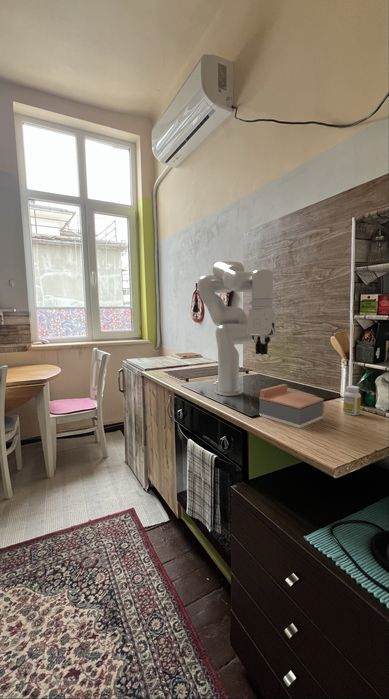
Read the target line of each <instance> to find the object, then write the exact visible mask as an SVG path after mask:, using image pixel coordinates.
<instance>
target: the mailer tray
mask: <svg viewBox="0 0 389 699" xmlns="http://www.w3.org/2000/svg"><path fill="white" fill-rule="evenodd" d="M323 403H324V400H323V401H320V402H318V403H315V404H312V405H309V406H306V407H304V408H301V409H298V408H294V407H290V406H286V405H282V404H278V403H274V402H270V401H267V400H263V399H259V409H258V410H259V413H258V414H259V415H260V416H259V415H258V416H259V417H262V418H266V419H269V420H272V421H275V422H277V423H278V422H279V423H282V424H285V425H289V426H291V427H295V428H299V429H301V428H304V427H306V426H308V425H310V424H313V423H315V422H317V421H320V420H323V415H324V414H323V412H324V411H323V410H324V406H323Z"/></svg>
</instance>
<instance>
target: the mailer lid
mask: <svg viewBox="0 0 389 699" xmlns="http://www.w3.org/2000/svg"><path fill="white" fill-rule="evenodd" d="M287 388H288V384H286V383H281V384H278V385H274V386H271V387H266V388H262V389H260V391H259V396H258V399H259V400H260V399H263V400H267V401H270V402H274V403H278V404H282V405H286V406H290V407H294V408H298V409H301V408H304V407H306V406H309V405H312V404H315V403H318V402H320V401H323V402H324V400H325V399H324V397H323V398H322V397H319V396H318V397H314V396H309V395H304V394H300V393H295V392H290V391H287Z"/></svg>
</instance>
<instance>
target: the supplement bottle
mask: <svg viewBox="0 0 389 699" xmlns="http://www.w3.org/2000/svg"><path fill="white" fill-rule="evenodd" d="M359 391H360V386H356V385H347V386H346V391H345V392H344V393H343V410H342V411H343V413H344V414H345V415H348V416H349V415H350V416H359V415H360V413H361V399H362V395H361V393H360V392H359Z"/></svg>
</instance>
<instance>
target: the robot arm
mask: <svg viewBox="0 0 389 699" xmlns="http://www.w3.org/2000/svg"><path fill="white" fill-rule="evenodd" d="M273 284H274V273H273V271H272V270H271V269H256V270H253V271H245V266H244V265H243V264H242V263H241V262H239V261H229V260H228V261H227V260H222V261H218V262H216V263H215V264H214V265H213V267H212V274H206V275H203V276H201V277H199V279H198V282H197V290H198V294H199V297H200V299H201V301H202V302H203V303H204V305H205V306H206V308H207V311H208V312H209V317H211V320H212V322H213V325H215V326H216V330H215V340H216V344H217V370H218V371H217V380H215V382H213V386H215V387H216V388H215V389H214V393H215V394H216V395H218V396H225V397H230V396H231V397H234V396H239V395H242V394H243V389H241V388H240V354H239V351H238V350H237V348H236V345H247V344H250V343H252V342H253V343H254V344H255V354H256V355H262V356H264V355H268V348H269V345H268V344H269V343H270V342H271V341H272V340H273V339H276V338H277V334H276V331H277V330H276V328H277V323H276V321H277V320H276V313H275V308H274V306H273V305H274V304H273V302H274V300H273V298H274V297H273V296H274V285H273ZM232 291H233V292H237V293H238V292H239V293H240V292H244V293H251V301H250V302H249V305H250V306H251V308H249V310H248V314H247V313H246V312H245V311H244V309H243V308H241V307H238V306H227V305H226V304H225V301H224V300H223V298H222V297H221V296H219V295H218V294H220V293H221V294H222V293H223V294H227V293H231V292H232ZM247 315H248V316H247Z"/></svg>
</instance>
